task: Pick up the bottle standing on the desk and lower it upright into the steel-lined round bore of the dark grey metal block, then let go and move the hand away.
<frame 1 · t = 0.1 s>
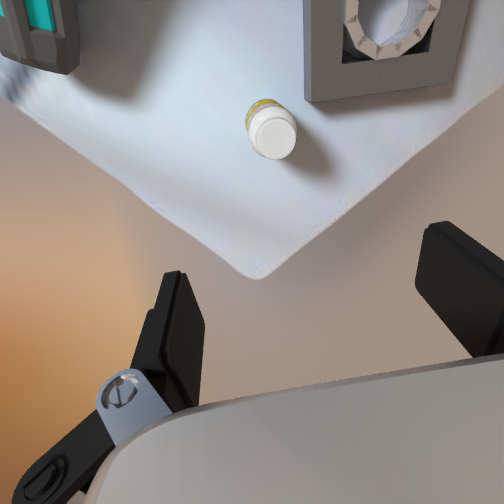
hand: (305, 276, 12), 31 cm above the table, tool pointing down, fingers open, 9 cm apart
bore block: (376, 6, 31), on the table
supplement bottle: (265, 121, 37), on the table
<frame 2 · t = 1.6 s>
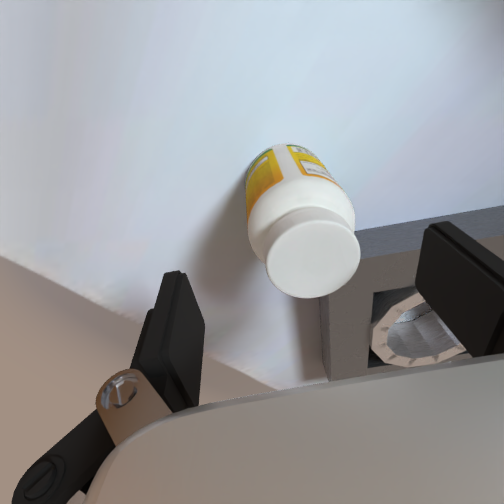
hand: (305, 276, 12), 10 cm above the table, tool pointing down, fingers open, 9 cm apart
bore block: (406, 296, 27), on the table
supplement bottle: (282, 180, 20), on the table
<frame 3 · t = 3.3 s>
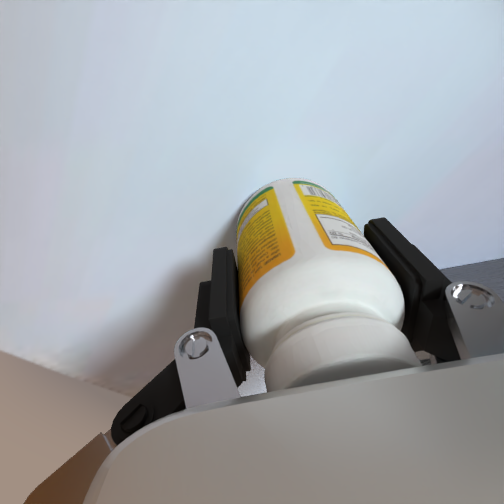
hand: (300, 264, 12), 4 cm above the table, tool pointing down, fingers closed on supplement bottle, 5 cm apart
bore block: (435, 349, 22), on the table
supplement bottle: (285, 223, 15), on the table, touching gripper
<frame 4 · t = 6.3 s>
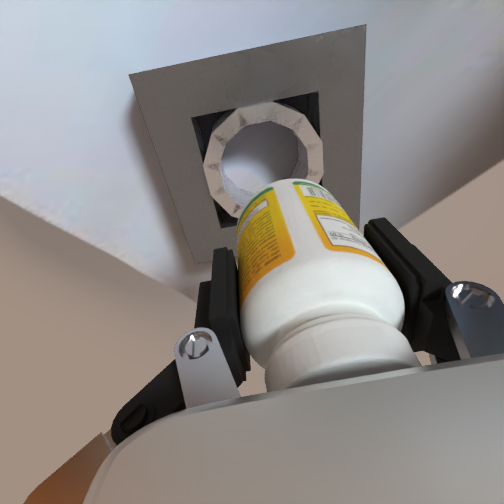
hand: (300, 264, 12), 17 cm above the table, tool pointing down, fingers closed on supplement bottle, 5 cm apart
bore block: (259, 156, 27), on the table
supplement bottle: (286, 224, 15), point 13 cm above the table, touching gripper
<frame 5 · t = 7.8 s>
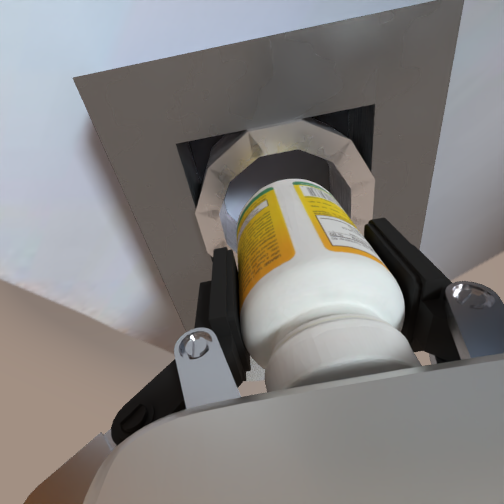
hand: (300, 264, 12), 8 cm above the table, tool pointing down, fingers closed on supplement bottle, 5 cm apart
bore block: (276, 190, 19), on the table
supplement bottle: (286, 224, 15), point 5 cm above the table, touching gripper
when the fingers open (5 cm above the table, at t = 9.2 s): supplement bottle drops 2 cm, on the table.
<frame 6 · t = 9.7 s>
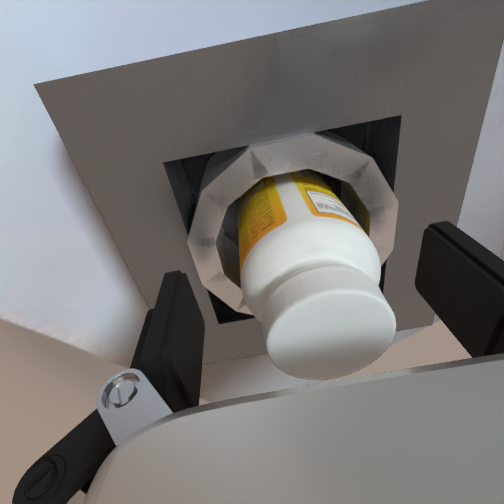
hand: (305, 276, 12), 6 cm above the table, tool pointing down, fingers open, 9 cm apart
bore block: (280, 209, 17), on the table
supplement bottle: (282, 206, 17), on the table
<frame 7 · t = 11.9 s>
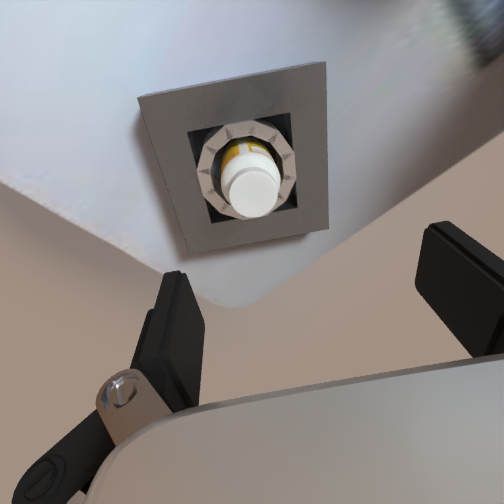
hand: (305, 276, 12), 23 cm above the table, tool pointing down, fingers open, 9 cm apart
bore block: (244, 163, 31), on the table
supplement bottle: (245, 161, 32), on the table
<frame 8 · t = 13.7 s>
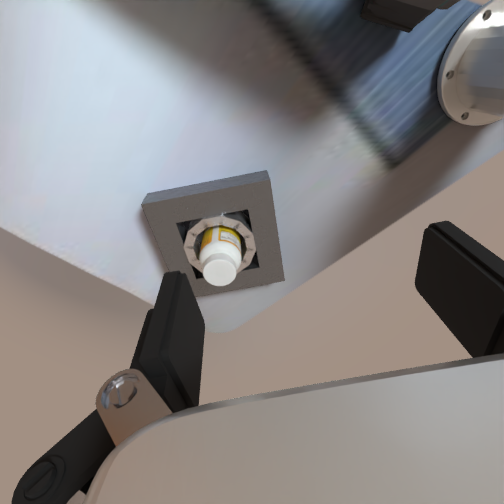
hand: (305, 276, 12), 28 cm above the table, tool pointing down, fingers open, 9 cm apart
bore block: (220, 233, 43), on the table
supplement bottle: (221, 232, 43), on the table
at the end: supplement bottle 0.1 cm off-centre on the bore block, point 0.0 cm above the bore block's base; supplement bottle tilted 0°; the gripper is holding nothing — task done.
